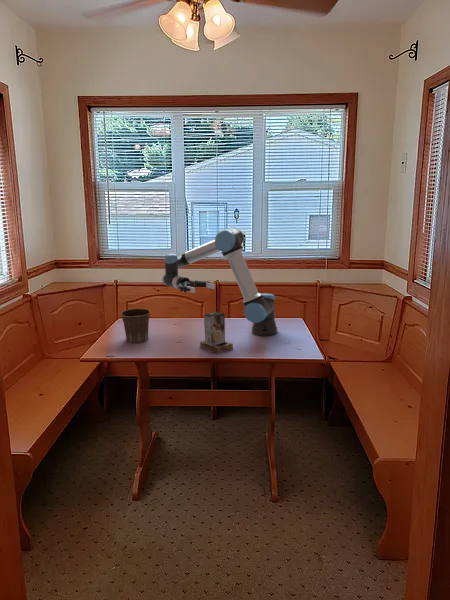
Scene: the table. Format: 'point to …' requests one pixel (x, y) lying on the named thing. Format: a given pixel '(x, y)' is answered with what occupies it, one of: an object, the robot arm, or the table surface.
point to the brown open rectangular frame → (219, 349)
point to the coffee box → (214, 328)
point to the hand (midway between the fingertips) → (204, 288)
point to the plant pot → (136, 324)
